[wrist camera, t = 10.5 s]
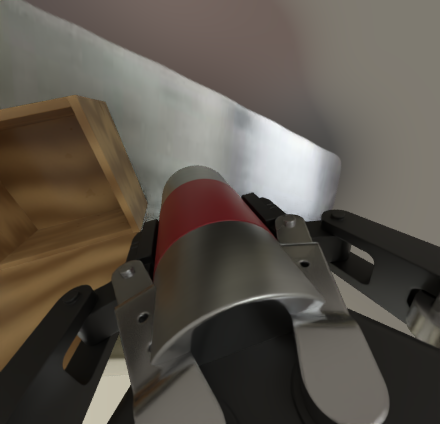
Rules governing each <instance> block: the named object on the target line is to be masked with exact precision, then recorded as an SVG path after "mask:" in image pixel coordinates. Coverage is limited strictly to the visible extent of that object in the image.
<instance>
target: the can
mask: <svg viewBox="0 0 440 424" xmlns="http://www.w3.org/2000/svg"><path fill="white" fill-rule="evenodd" d="M279 244H280V243H279V242H278V241H277V239H276V238H275V237H274V235H273V234H272V233H271V232H270V231H269V229H268V228H267V227H266V226H265V225H264V224H263V223H262V221H261V220H260V219H259V218H258V217H257V216H256V214H255V213H254V212H253V211H252V210H251V209H250V208H249V206H248V205H247V204H246V203H245V202H244V201H243V200H242V198H241V197H240V196H239V195H238V194H237V193H236V191H235V190H233V189H232V188H231V186H230V185H229V184H228V183H227V182H226V181H225V179H224V178H223V177H222V176H221V175H220V174H219V173H218V172H216V171H215V170H213V169H211V168H209V167H205V166H199V165H195V166H188V167H185V168H182V169H180V170H178V171H177V172H175V173H174V174H173V175H172V176H171V177H170V178H169V179H168V181H167V182H166V184H165V186H164V189H163V194H162V204H161V211H160V218H159V227H158V237H157V246H156V255H155V264H154V274H153V284H154V285H155V287H156V298H155V310H154V322H153V335H152V343H151V346H150V352H151V359H150V362H151V364H152V365H157V364H160V363H163V362H166V361H168V360H171V359H174V358H176V357H179V356H181V355H183V354H185V353H187V352H189V351H190V352H191V353H192V355H193V357H194V359H195V360H196V362H197V364H198V366H199V365H202V364H205V363H207V362H210V361H213V360H215V359H218V358H221V357H223V356H226V355H229V354H231V353H234V352H237V351H239V350H242V349H245V348H247V347H250V346H253V345H256V344H258V343H261V342H264V341H266V340H269V339H272V338H274V337H277V336H280V335H282V334H285V333H288V332H290V331H291V314H296V313H299V312H303V311H306V310H309V309H311V308H314V307H317V306H320V305H322V304H324V303H325V299H324V298H323V297H322V295H321V294H320V293H319V292H318V290H317V289H316V288H315V287H314V286H313V285H312V284H311V282H310V281H309V280H308V279H307V278H306V276H305V275H304V274H303V273H302V272H301V271H300V269H299V268H298V267H297V266H296V265H295V263H294V262H293V261H292V260H291V259H290V258H289V256H288V255H287V254H286V253H285V252H284V250H283V249H282V248H281V247H280V245H279Z"/></svg>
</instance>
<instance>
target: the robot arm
mask: <svg viewBox="0 0 440 424" xmlns="http://www.w3.org/2000/svg"><path fill="white" fill-rule="evenodd" d="M241 198H242V200H243V201H244V202H245V203H246V204H247V205H248V206H249V208H250V209H251V210H252V211H253V212H254V213H255V214H256V216H257V217H258V218H259V219H260V220H261V221H262V223H263V224H264V225H265V226H266V227H267V228H268V229H269V231H270V232H271V233H272V234H273V235H274V237H275V238H276V239H277V241H278V242H279V243H280V244H279V245H280V247H281V248H282V249H283V250H284V252H285V253H286V254H287V255H288V256H289V258H290V259H291V260H292V261H293V262H294V263H295V265H296V266H297V267H298V268H299V269H300V271H301V272H302V273H303V274H304V275H305V276H306V278H307V279H308V280H309V281H310V282H311V284H312V285H313V286H314V287H315V288H316V289H317V290H318V292H319V293H320V294H321V295H322V297H323V298H324V299H325V303H324V304H322V305H320V306H317V307H314V308H311V309H309V310H306V311H303V312H299V313H296V314H291V331H290V332H288V333H285V334H282V335H280V336H277V337H274V338H272V339H269V340H266V341H264V342H261V343H258V344H256V345H253V346H250V347H247V348H245V349H242V350H239V351H237V352H234V353H231V354H229V355H226V356H223V357H221V358H218V359H215V360H213V361H210V362H207V363H205V364H202V365H199V366H198V364H197V362H196V360H195V359H194V357H193V355H192V353H191V352H190V351H189V352H187V353H185V354H183V355H181V356H179V357H176V358H174V359H171V360H168V361H166V362H163V363H160V364H157V365H152V364H151V362H150V359H151V352H150V346H151V343H152V335H153V322H154V310H155V298H156V287H155V285H154V284H153V274H154V264H155V255H156V246H157V237H158V227H159V221H158V220H157V219H155V220H152V221H148V222H145V223H144V226H143V230H142V231H141V232H138V233H137V234H136V235H135V236H134V238H133V239H132V243H131V246H130V250H129V252H128V256H127V259H126V262H125V263H124V264H122V265H121V266H119V267H118V268H117V269H116V270H115V271H114V272H113V274H112V276H111V280H112V281H110V282H109V283H107V284H105V285H103V286H101V287H99V288H97V289H95V290H93V289H92V288H91V286H90V285H80V286H77V287H75V288H73V289H71V290H69V291H68V292H67V293H65V294H64V295H63V296H62V297H61V298H59V300H58V301H57V302H56V303H55V304H54V306H53V307H52V308H51V309H50V311H49V312H48V313H47V314H46V316H45V317H44V318H43V319H42V321H41V322H40V323H39V324H38V326H37V327H36V328H35V329H34V331H33V332H32V333H31V334H30V336H29V337H28V338H27V339H26V341H25V342H24V343H23V344H22V346H21V347H20V348H19V349H18V351H17V352H16V353H15V354H14V356H13V357H12V358H11V359H10V361H9V362H8V363H7V364H6V366H5V367H4V368H3V369H2V371H1V372H0V424H82V422H83V420H84V418H85V415H86V412H87V410H88V408H89V406H90V403H91V401H92V398H93V396H94V393H95V391H96V388H97V386H98V384H99V381H100V379H101V376H102V374H103V372H104V369H105V367H106V364H107V362H108V359H109V357H110V355H111V352H112V350H113V347H114V345H115V342H116V340H117V338H118V335H119V334H120V338H121V343H122V347H123V351H124V356H125V360H126V365H127V369H128V373H129V377H130V382H131V385H130V387H129V389H128V390H127V392H126V393H125V395H124V397H123V398H122V400H121V402H120V403H119V405H118V407H117V408H116V410H115V412H114V413H113V415H112V416H111V418H110V420H109V421H108V423H107V424H440V247H438V246H436V245H433V244H430V243H428V242H425V241H423V240H420V239H418V238H415V237H412V236H410V235H407V234H405V233H402V232H399V231H397V230H394V229H391V228H389V227H386V226H384V225H381V224H379V223H376V222H373V221H371V220H368V219H365V218H363V217H360V216H358V215H355V214H353V213H350V212H347V211H344V210H329V211H326V212H324V213H323V214H322V216H321V220H320V221H309V222H305V221H304V219H303V218H302V217H300V216H298V215H293V214H286V213H285V212H283V211H282V210H281V209H280V208H279V207H277V206H276V205H275V204H273V202H272V201H270V200H269V199H266V198H263V197H262V198H259V197H257V196H256V195H255V194H254V193H249V194H245V195H242V196H241ZM351 245H353V246H355V247H357V248H359V249H361V250H363V251H365V252H367V253H368V254H369V255H370V256H371V257H372V258H373V260H374V265H373V264H371V263H370V262H368V261H366V260H364V259H362V258H360V257H359V256H357V255H355V254H353V253H352V252H350V249H351ZM331 271H332V272H333V273H334V274H336V275H337V276H339V277H340V278H341V279H343V280H344V281H346V282H347V283H349V284H350V285H352V286H353V287H354V288H356V289H357V290H359V291H360V292H361V293H363V294H364V295H366V296H367V297H369V298H370V299H371V300H373V301H374V302H375V303H377V304H378V305H380V306H381V307H383V308H384V309H385V310H387V311H388V312H390V313H391V314H393V315H394V316H395V317H397V318H398V319H400V320H401V321H402V322H404V323H405V324H407V327H408V328H409V330H410V331H411V332H412V334H413V335H414V336H415V338H414V337H412V336H410V335H407V334H405V333H403V332H401V331H398V330H396V329H394V328H391V327H389V326H387V325H384V324H382V323H380V322H378V321H375V320H373V319H371V318H368V317H366V316H364V315H362V314H359V313H357V312H355V311H352V310H350V309H348V308H346V305H345V303H344V301H343V298H342V296H341V294H340V291H339V289H338V287H337V284H336V282H335V280H334V277H333V275H332V273H331ZM76 336H78V337H79V338H80V339H81V341H80V343H79V345H78V347H77V349H76V350H75V352H74V354H73V356H72V357H71V359H70V361H69V363H68V365H67V366H66V368H65V370H64V369H63V359H64V356H65V354H66V352H67V351H68V349H69V347H70V346H71V344H72V342H73V341H74V339H75V337H76Z"/></svg>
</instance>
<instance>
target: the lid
mask: <svg viewBox="0 0 440 424" xmlns="http://www.w3.org/2000/svg"><path fill="white" fill-rule="evenodd" d="M138 232H139V231H138ZM138 232H134V233H131V234H127V235H123V236H120V237H116V238H113V239H109V240H106V241H102V242H99V243H95V244H92V245H88V246H85V247H81V248H77V249H74V250H70V251H67V252H63V253H60V254H56V255H53V256H49V257H46V258H42V259H39V260H35V261H32V262H28V263H24V264H21V265H17V266H14V267H10V268H7V269H3V270H0V372H1V371H2V369H3V368H4V367H5V366H6V364H7V363H8V362H9V361H10V359H11V358H12V357H13V356H14V354H15V353H16V352H17V351H18V349H19V348H20V347H21V346H22V344H23V343H24V342H25V341H26V339H27V338H28V337H29V336H30V334H31V333H32V332H33V331H34V329H35V328H36V327H37V326H38V324H39V323H40V322H41V321H42V319H43V318H44V317H45V316H46V314H47V313H48V312H49V311H50V309H51V308H52V307H53V306H54V304H55V303H56V302H57V301H58V300H59V298H61V297H62V296H63V295H64V294H65V293H67V292H68V291H69V290H71V289H73V288H75V287H77V286H80V285H90V286H91V288H92V289H93V290H95V289H97V288H99V287H101V286H103V285H105V284H107V283H109V282H110V281H112V280H111V276H112V274H113V272H114V271H115V270H116V269H117V268H118V267H119V266H121V265H122V264H124V263H125V262H126V259H127V256H128V252H129V250H130V246H131V243H132V239H133V238H134V236H135V235H136V234H137V233H138ZM80 341H81V339H80V338H79V337H78V336H76V337H75V339H74V341H73V342H72V344H71V346H70V347H69V349H68V351H67V352H66V354H65V356H64V359H63V369H64V370H65V368H66V366H67V365H68V363H69V361H70V359H71V357H72V356H73V354H74V352H75V350H76V349H77V347H78V345H79V343H80Z"/></svg>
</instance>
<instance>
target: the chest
mask: <svg viewBox="0 0 440 424" xmlns="http://www.w3.org/2000/svg"><path fill="white" fill-rule="evenodd" d="M147 204H148V203H147V201H146V198H145V196H144V194H143V191H142V189H141V186H140V184H139V182H138V179H137V177H136V174H135V172H134V170H133V167H132V165H131V162H130V160H129V158H128V155H127V153H126V150H125V148H124V146H123V143H122V141H121V138H120V136H119V134H118V131H117V129H116V126H115V124H114V122H113V119H112V117H111V114H110V112H109V110H108V107H107V105H106V102H103V101H99V100H95V99H91V98H86V97H82V96H78V95H72V96H67V97H62V98H57V99H52V100H47V101H42V102H37V103H31V104H26V105H21V106H16V107H11V108H6V109H1V110H0V270H3V269H7V268H10V267H14V266H17V265H21V264H24V263H28V262H32V261H35V260H39V259H42V258H46V257H49V256H53V255H56V254H60V253H63V252H67V251H70V250H74V249H77V248H81V247H85V246H88V245H92V244H95V243H99V242H102V241H106V240H109V239H113V238H116V237H120V236H123V235H127V234H131V233H134V232H138V231H139V232H140V231H141V227H142V223H143V219H144V216H145V212H146V208H147Z"/></svg>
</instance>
